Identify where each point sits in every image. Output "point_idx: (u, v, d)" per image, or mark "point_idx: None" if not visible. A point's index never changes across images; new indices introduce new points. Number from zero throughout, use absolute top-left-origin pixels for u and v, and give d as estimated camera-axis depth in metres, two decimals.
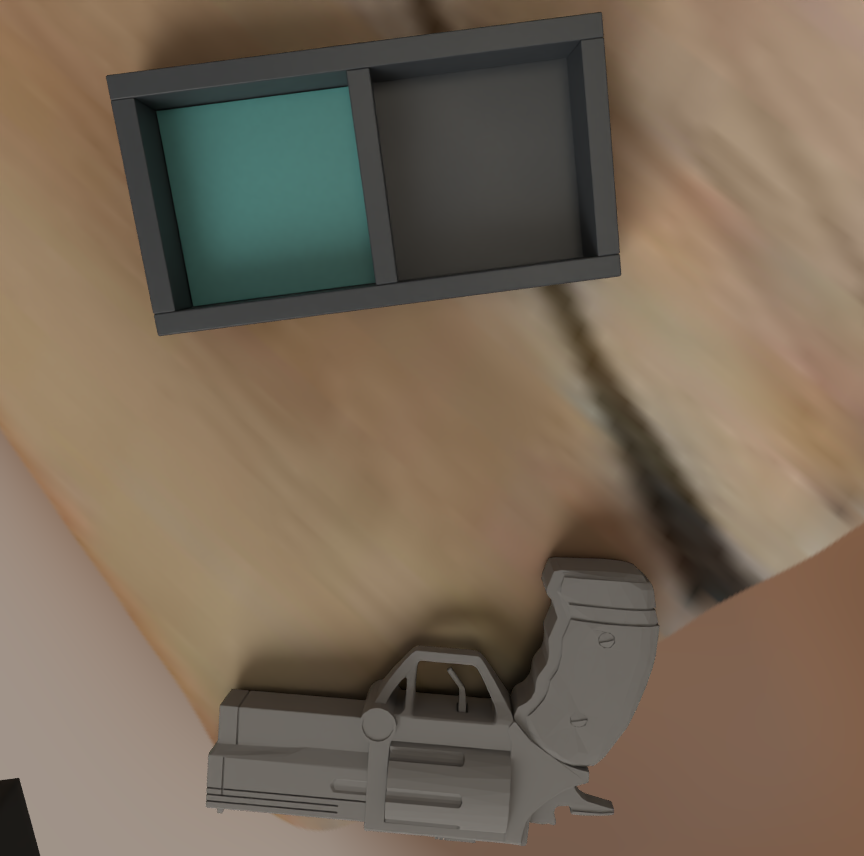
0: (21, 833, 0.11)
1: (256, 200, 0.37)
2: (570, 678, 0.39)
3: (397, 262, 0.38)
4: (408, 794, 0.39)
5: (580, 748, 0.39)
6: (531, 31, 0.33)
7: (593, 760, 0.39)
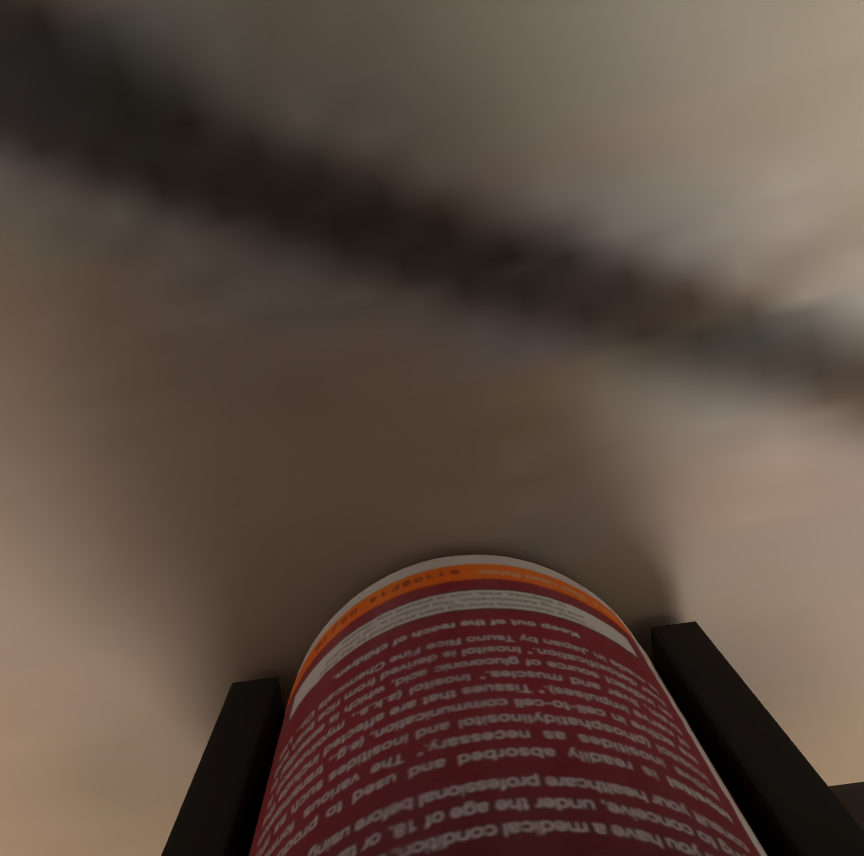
0: (282, 723, 0.13)
1: None
2: None
3: None
4: None
5: None
6: None
7: None
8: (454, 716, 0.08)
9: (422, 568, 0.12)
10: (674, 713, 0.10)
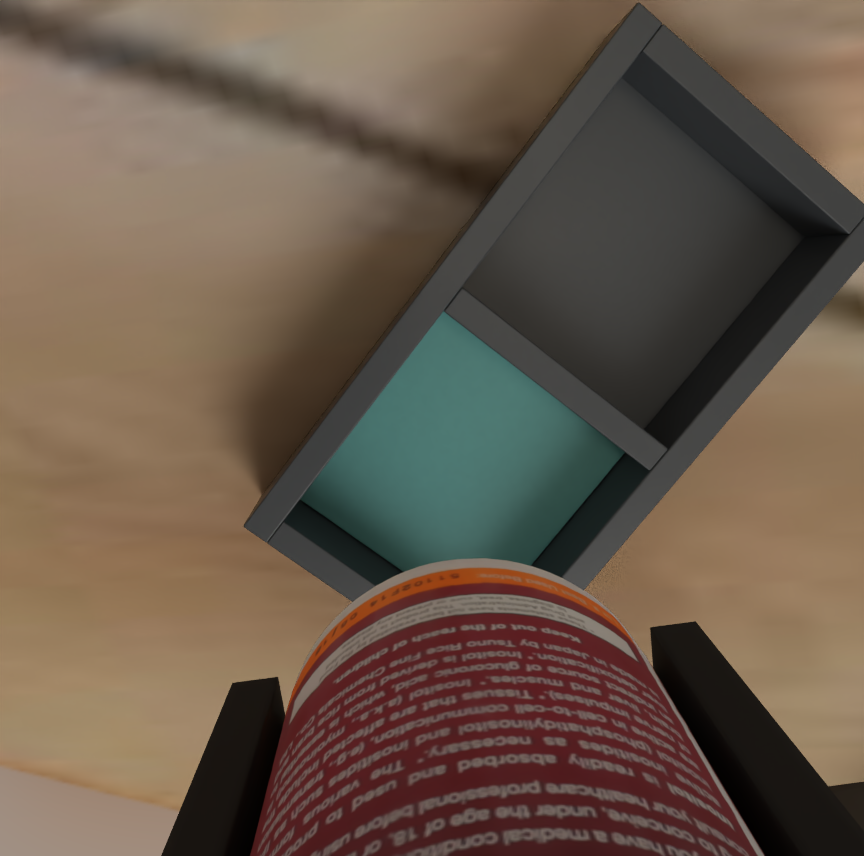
0: (282, 723, 0.13)
1: (451, 486, 0.30)
2: None
3: (627, 415, 0.30)
4: None
5: None
6: (585, 94, 0.24)
7: None
8: (454, 722, 0.08)
9: (422, 572, 0.12)
10: (675, 718, 0.10)
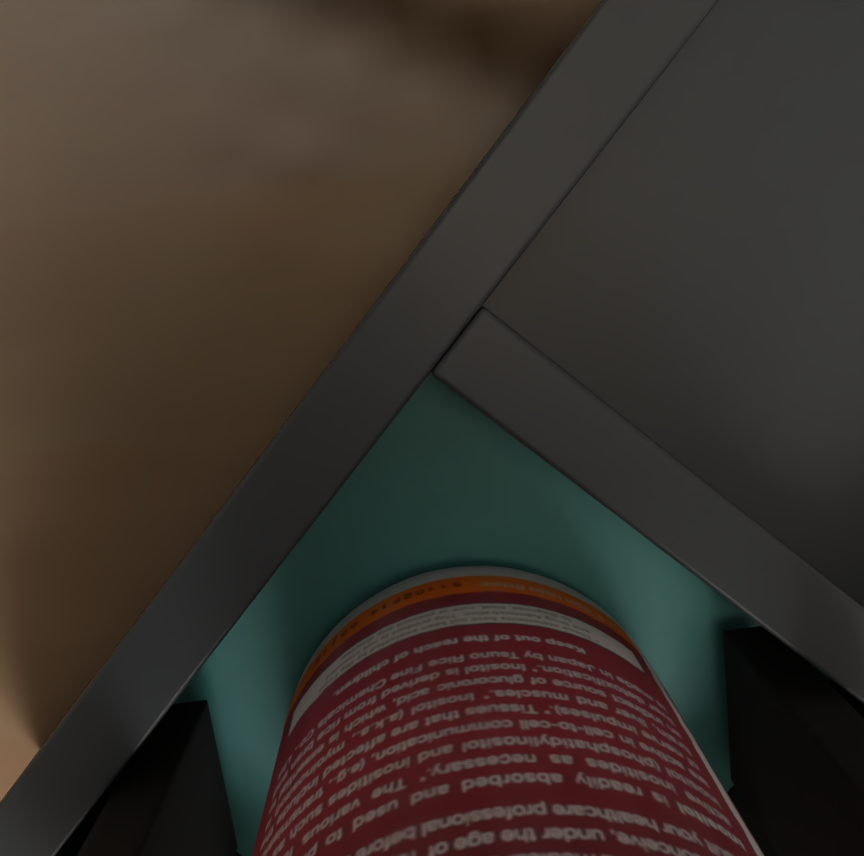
0: (211, 748, 0.12)
1: None
2: None
3: (846, 592, 0.13)
4: None
5: None
6: None
7: None
8: (457, 738, 0.08)
9: (424, 580, 0.12)
10: (682, 732, 0.09)
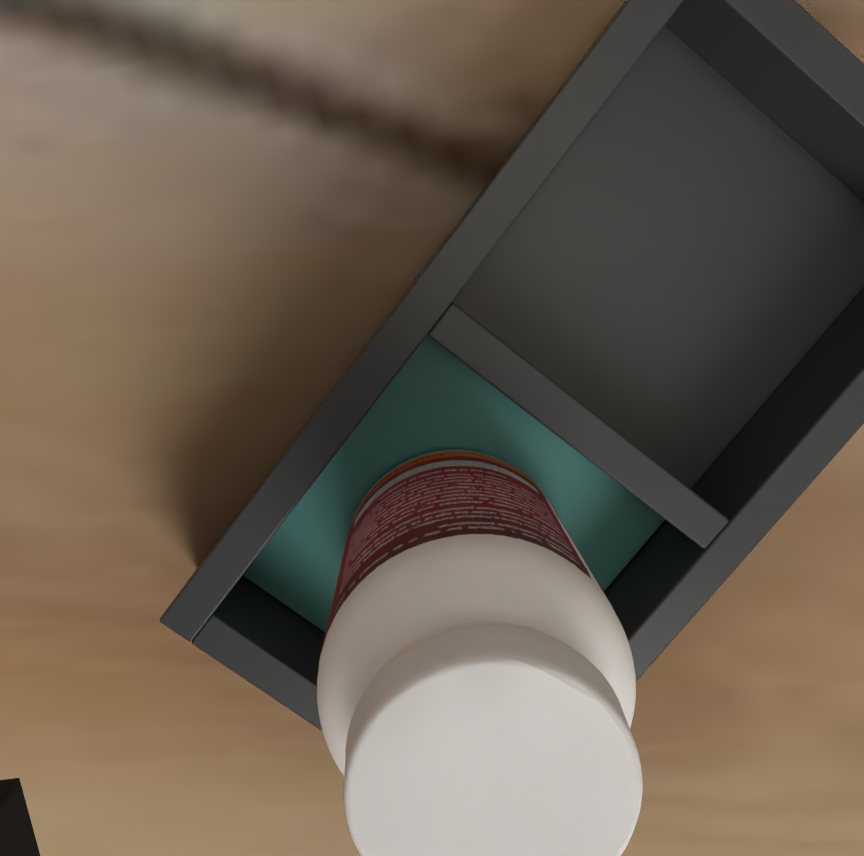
0: (21, 833, 0.11)
1: None
2: None
3: (669, 470, 0.23)
4: None
5: None
6: (622, 38, 0.18)
7: None
8: (439, 495, 0.17)
9: (425, 454, 0.21)
10: (551, 512, 0.19)
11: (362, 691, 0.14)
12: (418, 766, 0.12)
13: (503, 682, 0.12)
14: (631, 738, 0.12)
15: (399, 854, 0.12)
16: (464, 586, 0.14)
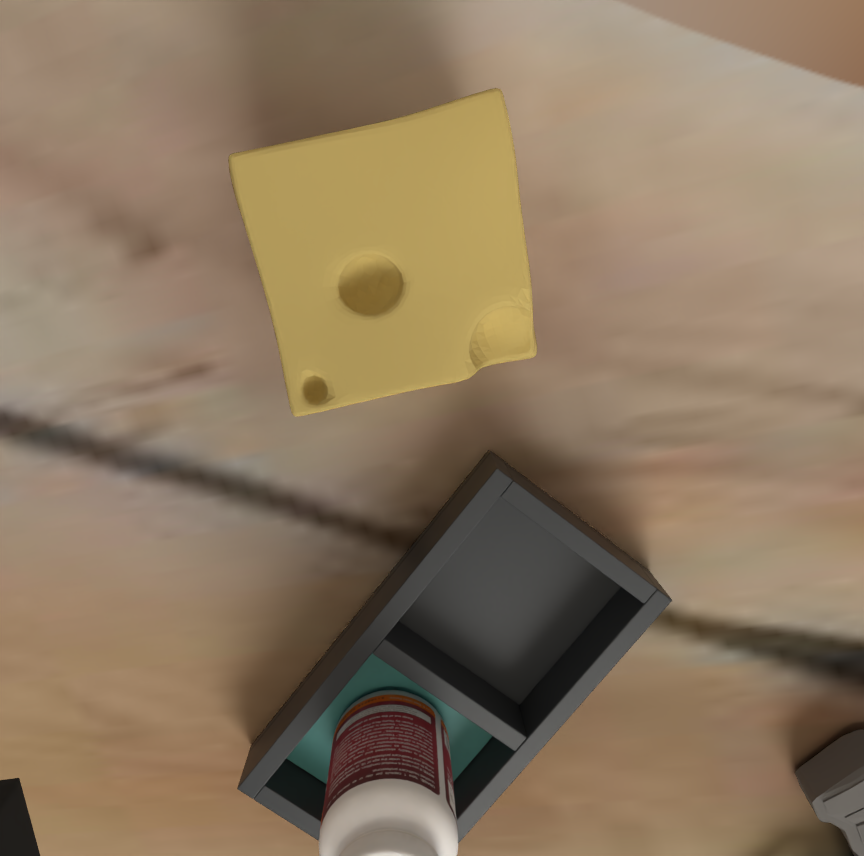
0: (21, 833, 0.11)
1: None
2: None
3: (507, 695, 0.42)
4: None
5: None
6: (463, 523, 0.37)
7: None
8: (376, 741, 0.37)
9: (374, 695, 0.41)
10: (434, 739, 0.38)
11: (338, 851, 0.33)
12: None
13: None
14: None
15: None
16: (380, 808, 0.33)
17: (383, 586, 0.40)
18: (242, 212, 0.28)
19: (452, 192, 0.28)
